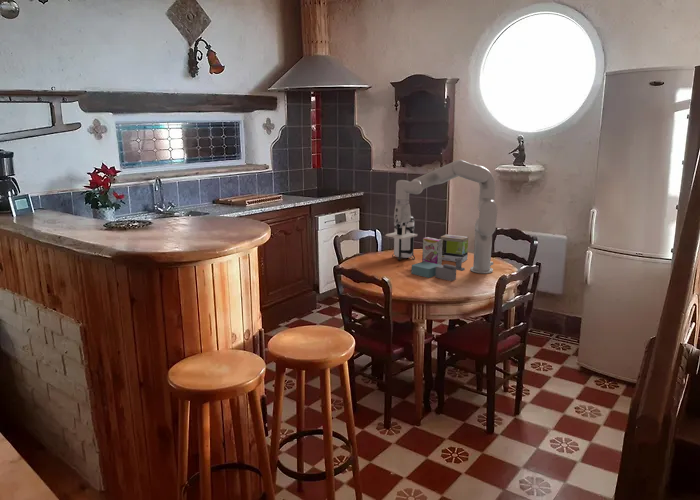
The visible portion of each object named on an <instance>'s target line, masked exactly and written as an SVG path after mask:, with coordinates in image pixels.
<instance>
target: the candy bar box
mask: <svg viewBox="0 0 700 500" xmlns="http://www.w3.org/2000/svg"><path fill="white" fill-rule="evenodd" d="M442 246H443V240H440V238H439V239H438V238H434V237H429V236H427V237H426V236H425V237H423V238H422V253H421V254H422V255H421V256H422V259H421V262H424V261H426V262H430V263H435V264H439V265H443V264H442V263H443V260H442Z"/></svg>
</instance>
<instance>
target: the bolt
mask: <svg viewBox="0 0 700 500" xmlns="http://www.w3.org/2000/svg"><path fill="white" fill-rule="evenodd" d="M462 260H463V257H459V258H456V259H455V261H456V262H455V265H453V264H448V263H445V264H442V265H443V267H446V268H450V269H455V270H456V271H460V272H464V271H466V270H465V267H462V265H463V262H462Z"/></svg>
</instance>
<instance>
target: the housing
mask: <svg viewBox="0 0 700 500" xmlns="http://www.w3.org/2000/svg"><path fill="white" fill-rule="evenodd" d="M443 265H444V264H442V265H439V264H435V263H430V262H426V261H424V262H422V261H421V262H417V263H414V264H412V265H411V271H410V272H411V274H412V275H415V276H420V277H424V278H428V279H429V278H433V277H435V278H437V279H441V280H444V281H448V282H449V281H450V282H452V281H455V280H456V279H457V270H455V269H450V268H446V267H443Z"/></svg>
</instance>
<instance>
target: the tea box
mask: <svg viewBox="0 0 700 500" xmlns="http://www.w3.org/2000/svg"><path fill="white" fill-rule="evenodd" d="M439 239H440V240H443V246H442V261H446V262H447V261H449V262H454V263H456V261H455V259H456V258H459V257H463V260H462V263H464V262H466V261H467V260H468V253H469V236H466V235H457V234H456V235H455V234H444V235H441V236H440V237H439Z"/></svg>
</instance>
